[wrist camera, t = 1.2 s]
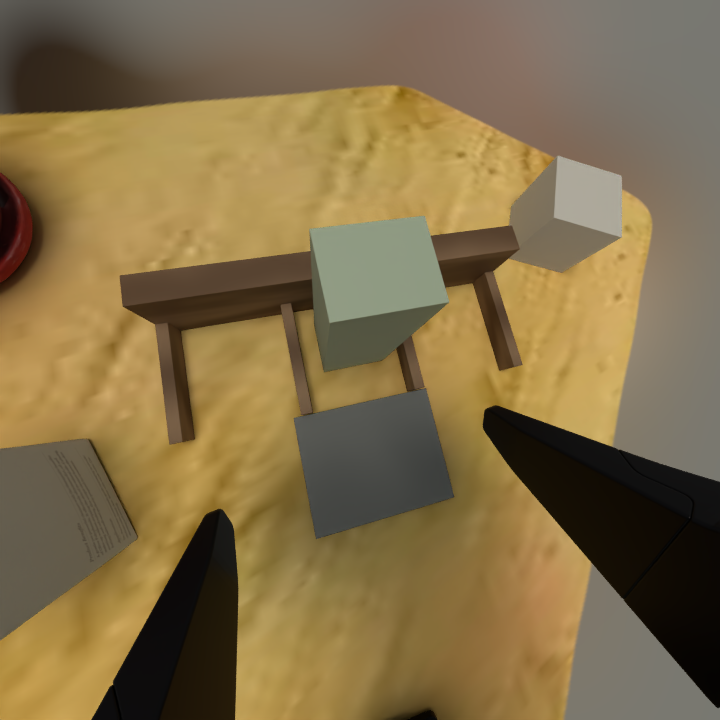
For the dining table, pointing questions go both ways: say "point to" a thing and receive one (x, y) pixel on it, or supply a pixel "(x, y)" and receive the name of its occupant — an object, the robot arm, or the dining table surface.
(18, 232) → the plant pot
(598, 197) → the light grey cube
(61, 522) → the skincare box
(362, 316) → the sage block
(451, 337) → the dining table surface
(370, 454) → the slate mat
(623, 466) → the robot arm
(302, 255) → the lane rack
